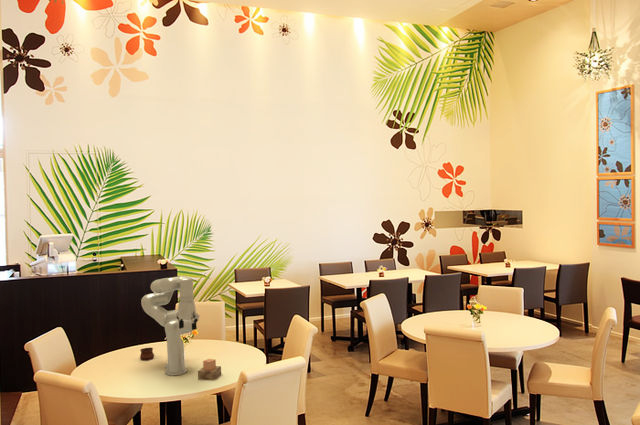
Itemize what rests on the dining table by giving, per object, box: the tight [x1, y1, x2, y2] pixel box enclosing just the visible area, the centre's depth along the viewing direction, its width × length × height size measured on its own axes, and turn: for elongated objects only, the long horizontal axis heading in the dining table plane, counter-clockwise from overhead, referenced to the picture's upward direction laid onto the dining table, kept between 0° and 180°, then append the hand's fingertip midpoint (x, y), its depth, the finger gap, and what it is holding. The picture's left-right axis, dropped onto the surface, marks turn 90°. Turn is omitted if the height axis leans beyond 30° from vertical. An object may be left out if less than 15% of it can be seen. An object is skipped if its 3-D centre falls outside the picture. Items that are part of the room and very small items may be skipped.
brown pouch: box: [139, 347, 155, 362], centre depth 342 cm, size 18×18×7 cm
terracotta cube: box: [202, 358, 217, 371], centre depth 302 cm, size 5×5×5 cm
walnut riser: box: [197, 365, 222, 381], centre depth 302 cm, size 10×10×5 cm
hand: (187, 328), depth 301 cm, fingers open, 9 cm apart
